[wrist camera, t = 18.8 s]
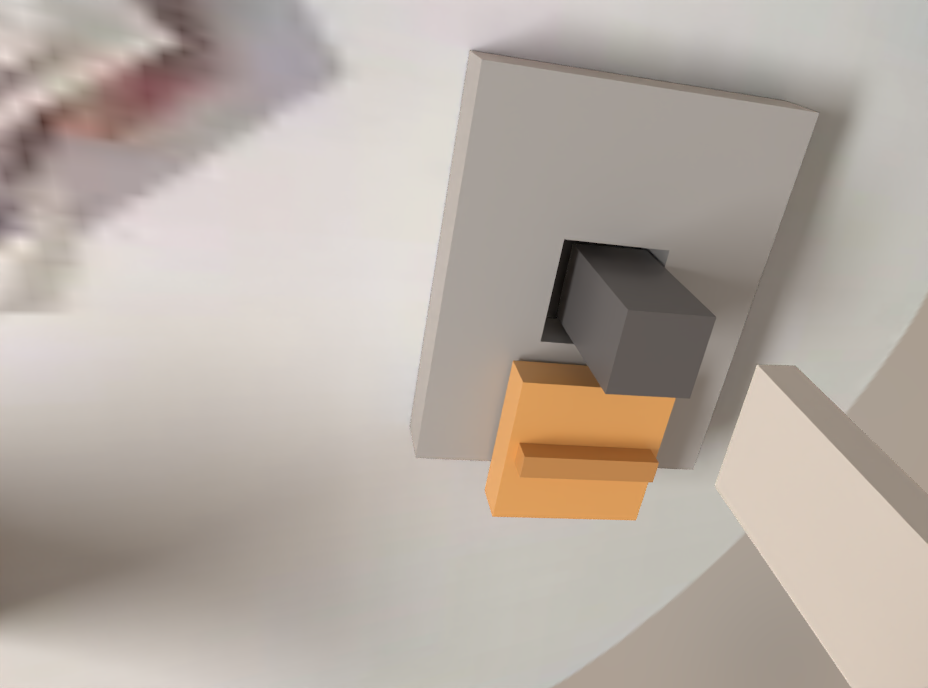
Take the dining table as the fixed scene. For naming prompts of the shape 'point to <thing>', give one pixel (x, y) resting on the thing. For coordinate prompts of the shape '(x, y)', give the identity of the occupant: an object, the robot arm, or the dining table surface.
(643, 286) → the plug
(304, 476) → the dining table surface
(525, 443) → the orange ridged block
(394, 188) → the dining table surface
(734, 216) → the socket plate
